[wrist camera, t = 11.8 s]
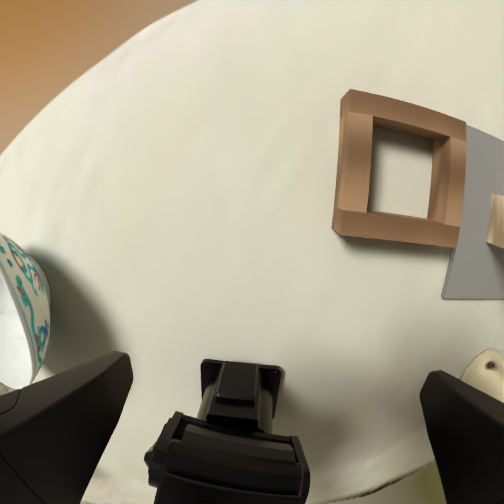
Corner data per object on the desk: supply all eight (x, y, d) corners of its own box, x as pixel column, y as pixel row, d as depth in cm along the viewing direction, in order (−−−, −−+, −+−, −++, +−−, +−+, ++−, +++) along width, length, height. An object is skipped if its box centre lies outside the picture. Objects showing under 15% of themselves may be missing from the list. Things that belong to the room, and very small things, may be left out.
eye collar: (439, 240, 19) (456, 248, 16) (331, 228, 19) (340, 234, 17) (448, 126, 16) (465, 122, 14) (340, 99, 17) (349, 89, 14)
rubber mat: (513, 296, 19) (517, 298, 18) (441, 295, 20) (444, 298, 19) (533, 159, 16) (537, 159, 15) (461, 125, 16) (465, 124, 16)
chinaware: (-19, 235, 21) (-66, 252, 14) (51, 188, 20) (-16, 198, 12) (24, 352, 25) (-13, 383, 17) (106, 346, 23) (62, 396, 15)
